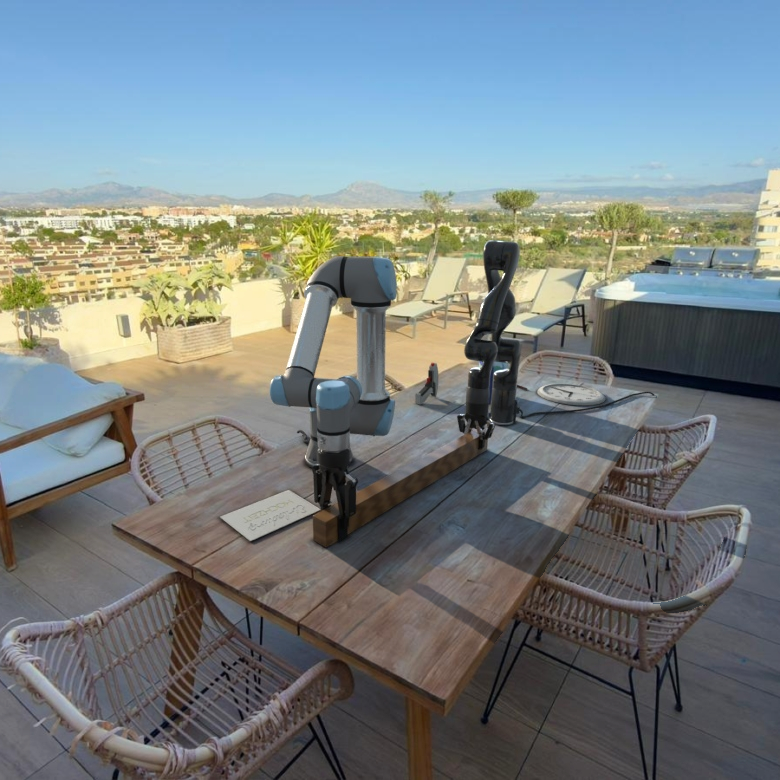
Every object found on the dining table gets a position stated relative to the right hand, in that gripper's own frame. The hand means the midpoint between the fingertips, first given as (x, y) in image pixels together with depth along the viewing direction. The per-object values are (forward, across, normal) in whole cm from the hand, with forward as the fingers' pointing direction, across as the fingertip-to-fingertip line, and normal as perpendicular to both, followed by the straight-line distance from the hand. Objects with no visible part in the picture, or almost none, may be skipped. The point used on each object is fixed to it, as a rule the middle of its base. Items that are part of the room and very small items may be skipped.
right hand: (474, 446), depth 177 cm
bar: (+2, 0, -33) cm, 33 cm away
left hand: (+2, 0, -66) cm, 66 cm away
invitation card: (+2, -20, -70) cm, 73 cm away
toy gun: (+2, -45, +35) cm, 57 cm away
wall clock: (+2, 0, +86) cm, 86 cm away
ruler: (+2, -26, +81) cm, 85 cm away
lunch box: (+2, -24, +56) cm, 61 cm away
